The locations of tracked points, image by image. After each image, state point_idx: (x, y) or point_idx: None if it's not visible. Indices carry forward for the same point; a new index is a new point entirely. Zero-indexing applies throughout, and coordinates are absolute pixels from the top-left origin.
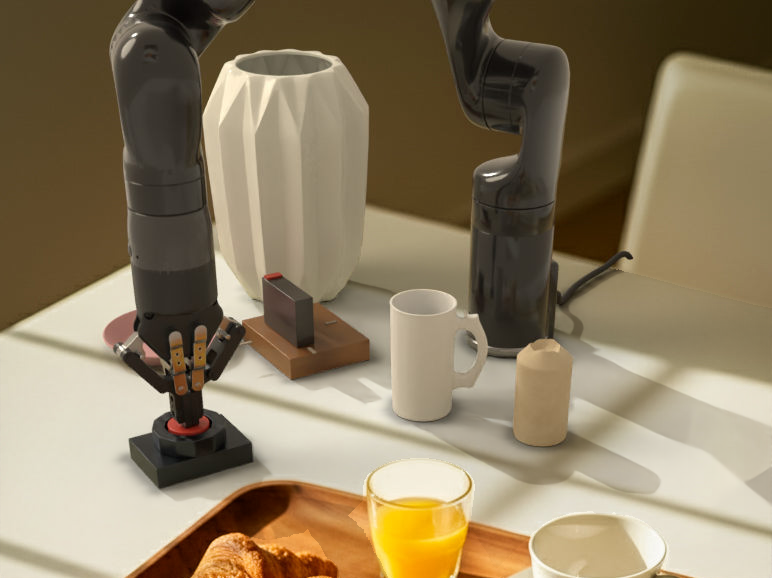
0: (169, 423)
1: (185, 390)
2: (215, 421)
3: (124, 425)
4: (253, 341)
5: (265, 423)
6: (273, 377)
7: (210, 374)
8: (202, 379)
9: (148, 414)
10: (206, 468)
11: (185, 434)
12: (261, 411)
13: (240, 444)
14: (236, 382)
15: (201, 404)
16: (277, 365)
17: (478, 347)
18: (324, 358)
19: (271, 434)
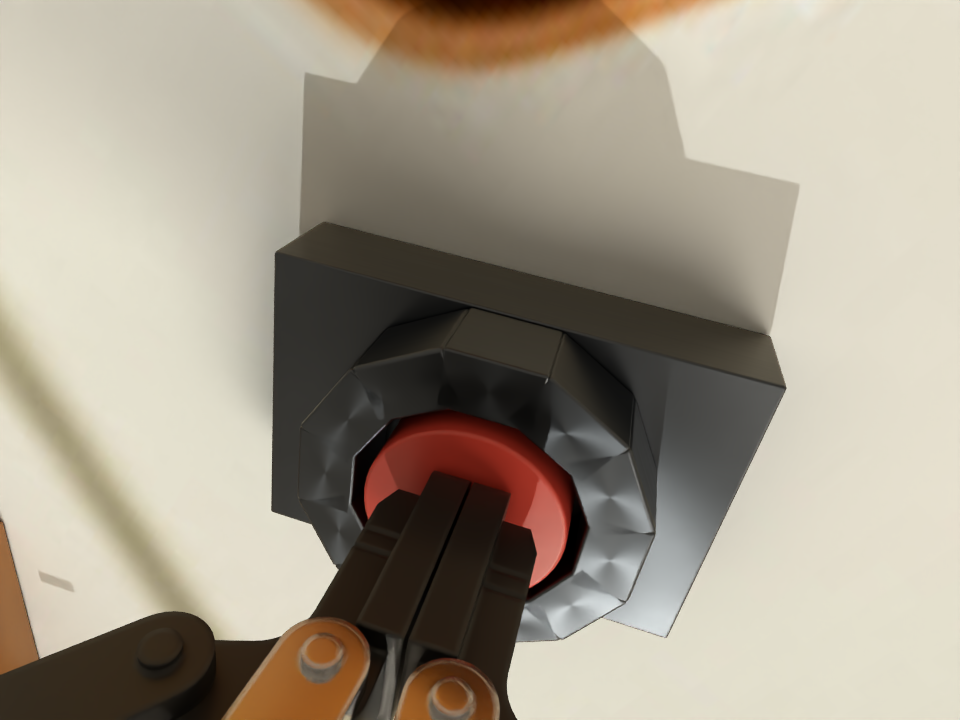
0: (535, 576)
1: (427, 678)
2: (346, 443)
3: (536, 696)
4: None
5: (162, 402)
6: (44, 564)
7: (184, 677)
8: (264, 678)
9: None
10: (529, 289)
11: (536, 461)
12: (144, 464)
13: (327, 275)
14: (144, 616)
15: (364, 545)
16: (10, 592)
17: None
18: None
19: (174, 333)
